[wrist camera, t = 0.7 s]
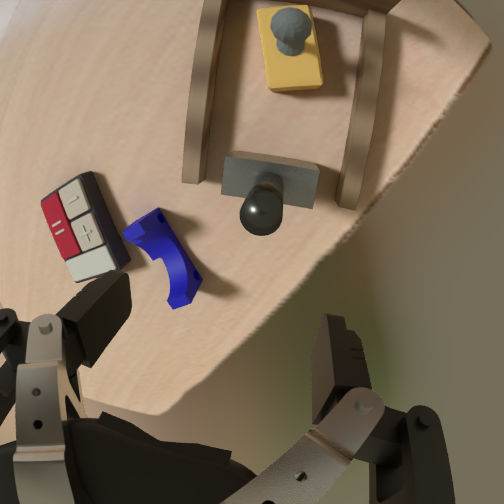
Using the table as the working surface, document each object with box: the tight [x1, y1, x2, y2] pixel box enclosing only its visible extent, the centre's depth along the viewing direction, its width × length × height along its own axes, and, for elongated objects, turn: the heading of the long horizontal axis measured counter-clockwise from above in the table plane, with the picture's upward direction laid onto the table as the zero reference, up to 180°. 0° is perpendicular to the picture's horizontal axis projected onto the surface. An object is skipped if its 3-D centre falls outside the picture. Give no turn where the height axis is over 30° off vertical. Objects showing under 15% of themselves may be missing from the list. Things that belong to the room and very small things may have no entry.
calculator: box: [41, 171, 131, 283], centre depth 38 cm, size 11×4×15 cm
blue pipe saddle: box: [122, 207, 203, 309], centre depth 37 cm, size 12×4×6 cm, turn 27°
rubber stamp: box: [256, 5, 324, 92], centre depth 21 cm, size 10×6×12 cm, turn 7°
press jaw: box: [221, 151, 320, 236], centre depth 26 cm, size 4×9×14 cm, turn 83°
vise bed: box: [182, 0, 401, 210], centre depth 25 cm, size 26×20×8 cm
